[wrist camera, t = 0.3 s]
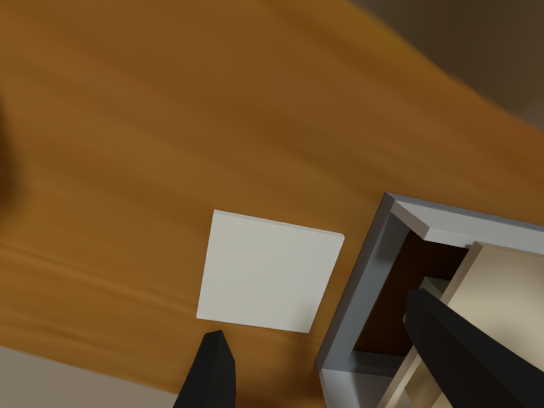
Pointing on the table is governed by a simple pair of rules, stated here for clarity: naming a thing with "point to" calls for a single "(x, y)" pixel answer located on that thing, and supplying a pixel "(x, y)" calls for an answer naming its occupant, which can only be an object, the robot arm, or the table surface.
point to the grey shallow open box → (372, 274)
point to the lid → (483, 317)
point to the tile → (266, 272)
